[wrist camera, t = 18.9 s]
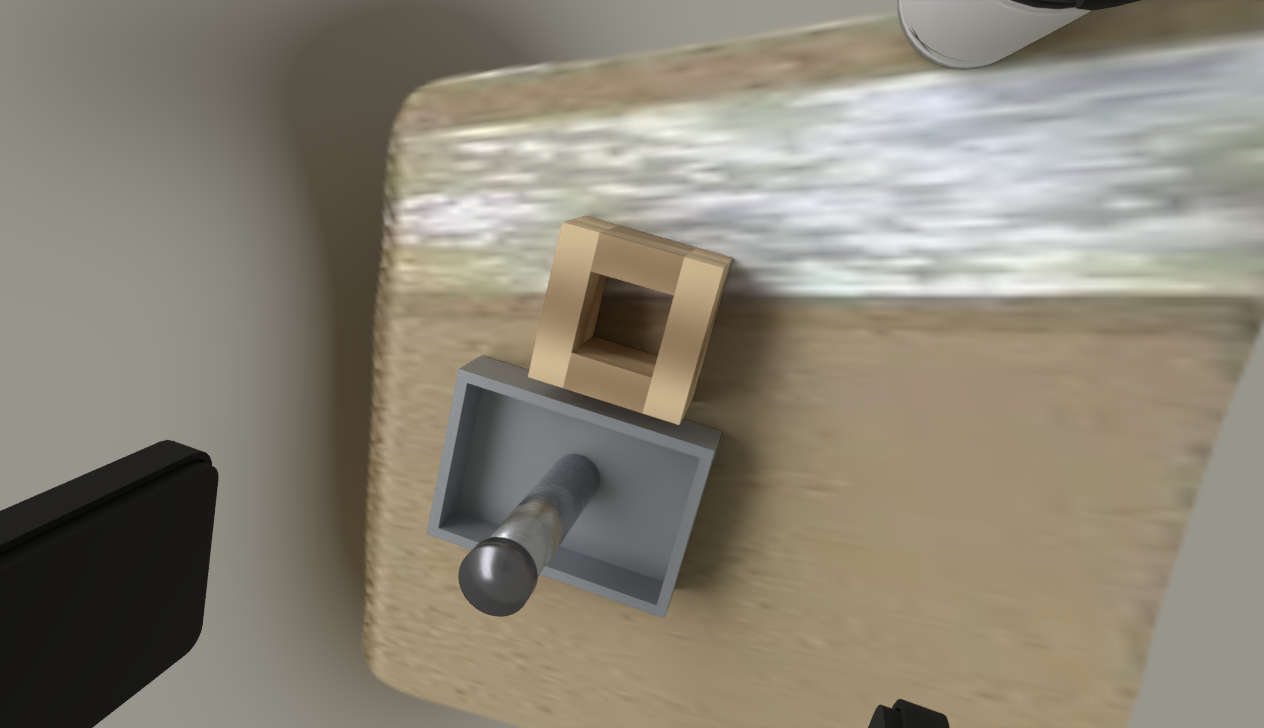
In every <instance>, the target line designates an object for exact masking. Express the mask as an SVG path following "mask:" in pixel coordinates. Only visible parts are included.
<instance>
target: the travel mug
mask: <svg viewBox="0 0 1264 728" xmlns="http://www.w3.org/2000/svg"><path fill="white" fill-rule="evenodd" d="M1136 1H1140V0H898V15H899V20H900V24H901V27H902V29H903V31H904V34H905V36H906V38H907V39H908V41H909V42H910V44H911V45H912V46H913V48H914V49H915V50H916V51H917V52H919V53H920V54H921V55H922V56H923V57H924V58H926V59H928V60H930V61H931V62H933V63H935V64H937V65H941V66H944V67H947V68H953V69H973V68H979V67H983V66H986V65H990V64H993V63H995V62H997V61H999V60H1001V59H1003V58H1005V57H1007V56H1008V55H1010V54H1012V53H1014V52H1016V51H1018V50H1020V49H1021V48H1023V47H1025V46H1027V45H1029V44H1031V43H1033V42H1035V41H1036V40H1038V39H1040V38H1042V37H1044V36H1046V35H1048V34H1049V33H1051V32H1053V31H1055V30H1057V29H1059V28H1061V27H1063V26H1064V25H1066V24H1068V23H1070V22H1072V21H1074V20H1076V19H1078V18H1079V17H1081V16H1083V15H1085V14H1087V13H1089V12H1091V11H1092V10H1098V9H1104V8H1110V7H1116V6H1120V5H1124V4H1128V3H1132V2H1136Z"/></svg>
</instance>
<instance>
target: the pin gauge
mask: <svg viewBox="0 0 1264 728" xmlns="http://www.w3.org/2000/svg"><path fill="white" fill-rule="evenodd" d="M599 485H600V475H599V472H598V469H597V467H596V466H595V464H594V463H593V462H592V461H591V460H590V459H588V458H587V457H585V456H582V455H579V454H568V455H565V456H563V457H561V458H560V459H558V460H557V462H556V463H555V464H554V465H553V466H552V467H551V468H550V469H549V471H548V472H547V473H546V474H545V475H544V476H543V477H542V479H541V480H540V481H539V482H538V483H537V484H536V485H535V486H534V488H533V489H532V490H531V491H530V492H529V493H528V494H527V495H526V497H525V498H524V499H523V500H522V501H521V502H520V503H519V504H518V506H517V507H516V508H515V509H514V510H513V511H512V512H511V513H510V515H509V516H508V517H507V518H506V519H505V520H504V521H503V522H502V524H501V525H500V526H499V527H498V528H497V529H496V530H495V532H494V533H493V534H492V535H491V536H490V537H489V538H487V539H485V540H483V541H481V542H479V543H478V544H477V545H476V546H475V547H474V548H473V549H472V550H471V552H470V553H469V554H468V555H467V556H466V557H465V558H464V560H463V561H462V563H461V565H460V569H459V584H460V588H461V590H462V592H463V594H464V596H465V597H466V599H467V600H468V601H469V603H470V604H471V605H473V606H474V607H475V608H476V609H478V610H479V611H481V612H483V613H485V614H488V615H492V616H508V615H511V614H514V613H516V612H517V611H519V610H520V609H521V608H522V607H523V606H524V604H525V603H526V602H527V600H528V599H529V597H530V596H531V594H532V593H533V591H534V589H535V587H536V584H537V579H538V576H539V574H540V573H541V572H542V570H543V569H544V567H545V566H546V564H547V563H548V561H549V560H550V558H551V557H552V556H553V554H554V553H555V551H556V550H557V548H558V547H559V545H560V544H561V543H562V541H563V540H564V538H565V537H566V535H567V534H568V532H569V531H570V529H571V528H572V527H573V525H574V524H575V522H576V521H577V519H578V518H579V516H580V515H581V514H582V512H583V511H584V509H585V508H586V506H587V505H588V503H589V502H590V500H591V499H592V498H593V496H594V495H595V493H596V492H597V490H598V488H599Z"/></svg>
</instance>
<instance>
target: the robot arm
mask: <svg viewBox="0 0 1264 728" xmlns="http://www.w3.org/2000/svg"><path fill="white" fill-rule="evenodd" d="M217 487H218V472H217V469H216V468H215V467H213V466H212V461H211V458H210V456H209V455H208V454H207V453H206V452H203V451H200V450H197V449H194V448H191V447H189V446H186V445H183V444H180V443H177V442H175V441H171V440H165V441H161V442H158V443H156V444H154V445H151V446H149V447H147V448H144V449H142V450H140V451H137V452H136V453H133V454H131V455H128V456H126V457H124V458H121V459H119V460H117V461H115V462H112V463H110V464H107V465H105V466H103V467H101V468H98V469H96V470H94V471H91V472H89V473H87V474H84V475H82V476H80V477H78V478H75V479H73V480H71V481H68V482H66V483H64V484H62V485H59V486H57V487H54V488H52V489H50V490H48V491H46V492H43V493H41V494H38V495H36V496H34V497H31V498H29V499H27V500H24V501H22V502H20V503H18V504H15V505H13V506H11V507H8V508H6V509H4V510H1V511H0V728H92V727H94V726H95V725H96V724H98V723H99V722H100V721H101V720H103V719H104V718H105V717H107V716H108V715H109V714H110V713H111V712H113V711H114V710H115V709H117V708H118V707H119V706H121V705H122V704H123V703H124V702H126V701H127V700H128V699H129V698H131V697H132V696H133V695H135V694H136V693H137V692H139V691H140V690H141V689H142V688H144V687H145V686H146V685H148V684H149V683H150V682H151V681H153V680H154V679H155V678H156V677H158V676H159V675H160V674H162V673H163V672H164V671H165V670H167V669H168V668H169V667H170V666H172V665H173V664H174V663H175V662H177V661H178V660H179V659H181V658H182V657H183V656H185V655H186V654H187V653H188V652H189V651H190V650H191V649H192V647H193V646H194V644H195V643H196V642H197V640H198V638H199V635H200V633H201V630H202V625H203V616H204V607H205V598H206V589H207V579H208V570H209V560H210V551H211V543H212V533H213V524H214V515H215V506H216V496H217ZM868 728H949V723H948V720H947V717H946V716H945V715H944V714H942V713H939V712H936V711H933V710H930V709H927V708H925V707H922V706H919V705H916V704H913V703H911V702H908V701H905V700H902V699H899V700H897V701H896V702H895V704H894V705H893V707H892V708H889V707H886V706H883V705H879V706H878V707H877V708H876V710H875V712H874V714H873V717H872V719H871V722H870V724H869V727H868Z"/></svg>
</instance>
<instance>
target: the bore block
mask: <svg viewBox="0 0 1264 728" xmlns="http://www.w3.org/2000/svg"><path fill="white" fill-rule="evenodd" d="M732 260H733V258H732V257H728V256H725V255H721V254H718V253H714V252H711V251H707V250H704V249H700V248H697V247H693V246H690V245H686V244H683V243H679V242H676V241H672V240H669V239H665V238H661V237H658V236H654V235H651V234H647V233H644V232H640V231H637V230H633V229H630V228H626V227H623V226H619V225H616V224H612V223H609V222H605V221H602V220H598V219H594V218H591V217H587V216H583V217H579V218H575V219H571V220H568V221H564V222H562V224H561V229H560V233H559V238H558V242H557V247H556V252H555V256H554V261H553V265H552V270H551V274H550V279H549V283H548V288H547V292H546V297H545V301H544V306H543V310H542V315H541V319H540V324H539V328H538V333H537V337H536V342H535V346H534V351H533V355H532V360H531V365H530V369H529V374H528V377H529V378H533V379H536V380H539V381H542V382H545V383H548V384H551V385H555V386H558V387H561V388H564V389H567V390H570V391H574V392H577V393H580V394H583V395H586V396H589V397H592V398H596V399H599V400H602V401H605V402H608V403H611V404H614V405H618V406H621V407H624V408H627V409H630V410H633V411H636V412H640V413H643V414H646V415H649V416H652V417H655V418H659V419H662V420H665V421H668V422H671V423H674V424H677V425H680V423H681V421H682V419H683V417H684V415H685V414H686V412H687V410H688V408H689V406H690V404H691V403H692V400H693V396H694V393H695V389H696V386H697V382H698V379H699V375H700V372H701V368H702V365H703V361H704V358H705V354H706V351H707V347H708V344H709V340H710V337H711V333H712V330H713V326H714V323H715V319H716V316H717V312H718V309H719V305H720V302H721V298H722V295H723V291H724V288H725V284H726V281H727V277H728V274H729V270H730V267H731V263H732ZM607 276H608V277H612V278H615V279H618V280H622V281H625V282H629V283H632V284H635V285H639V286H642V287H646V288H649V289H653V290H656V291H659V292H663V293H666V294H670V295H673V296H674V298H673V301H672V305H671V309H670V313H669V316H668V320H667V324H666V328H665V331H664V335H663V339H662V342H661V346H660V350H659V354H658V356H657V355H654V354H650V353H647V352H644V351H641V350H637V349H634V348H631V347H627V346H624V345H621V344H618V343H614V342H611V341H608V340H605V339H601V338H598V337H595V336H593V333H594V329H595V325H596V321H597V317H598V313H599V309H600V304H601V300H602V296H603V292H604V288H605V284H606V280H607Z"/></svg>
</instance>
